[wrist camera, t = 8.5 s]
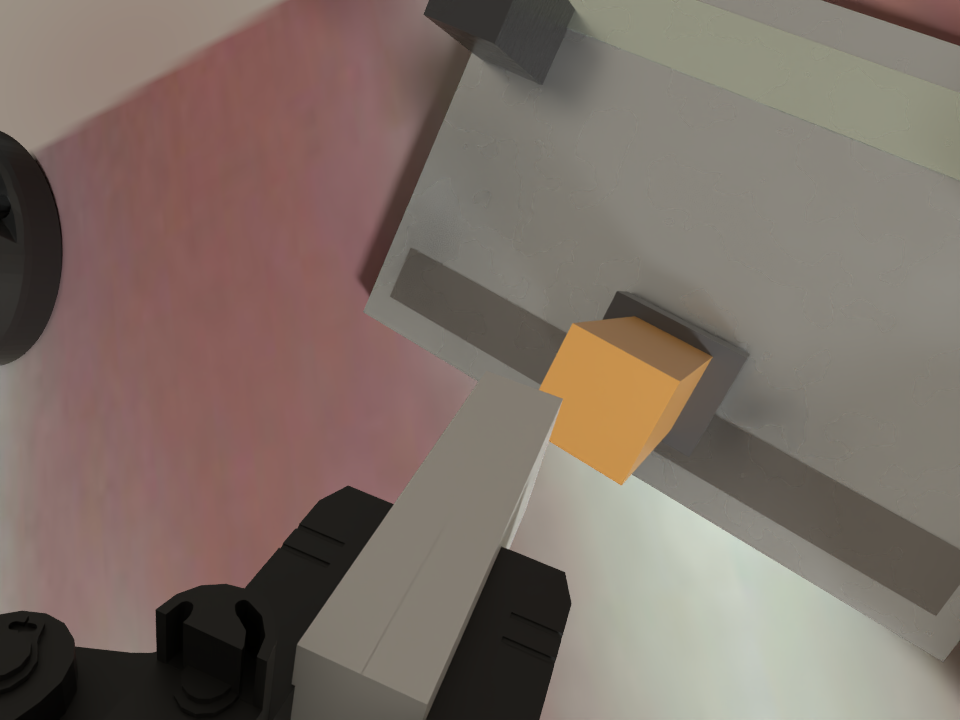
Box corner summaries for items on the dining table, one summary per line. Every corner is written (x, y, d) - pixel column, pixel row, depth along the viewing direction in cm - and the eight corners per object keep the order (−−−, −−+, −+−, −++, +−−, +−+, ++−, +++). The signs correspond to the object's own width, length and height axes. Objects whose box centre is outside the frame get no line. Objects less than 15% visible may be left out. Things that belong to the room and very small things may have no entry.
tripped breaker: (580, 381, 28) (482, 420, 19) (627, 291, 27) (547, 287, 18) (695, 447, 26) (647, 523, 17) (750, 353, 25) (729, 384, 16)
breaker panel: (380, 311, 34) (293, 314, 28) (545, -77, 29) (483, -174, 23) (934, 642, 25) (979, 746, 19) (1288, 175, 21) (1489, 125, 15)
